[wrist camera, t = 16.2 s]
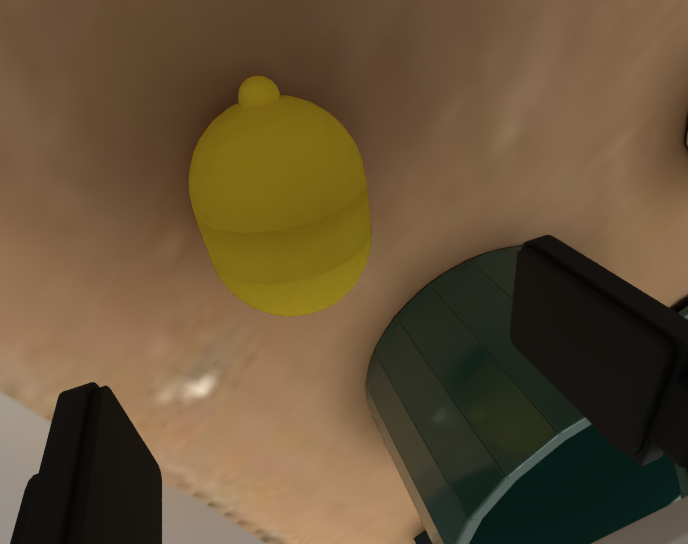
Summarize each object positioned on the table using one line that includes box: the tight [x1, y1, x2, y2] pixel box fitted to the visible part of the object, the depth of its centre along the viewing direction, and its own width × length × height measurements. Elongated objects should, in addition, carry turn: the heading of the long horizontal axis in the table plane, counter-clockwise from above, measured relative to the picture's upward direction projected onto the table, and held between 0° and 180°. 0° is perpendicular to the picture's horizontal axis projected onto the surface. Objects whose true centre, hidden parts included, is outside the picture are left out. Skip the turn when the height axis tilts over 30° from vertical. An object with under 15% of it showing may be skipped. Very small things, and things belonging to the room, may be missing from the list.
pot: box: [366, 246, 681, 544], centre depth 23 cm, size 15×15×10 cm
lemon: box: [189, 76, 372, 316], centre depth 15 cm, size 9×6×6 cm, turn 8°
